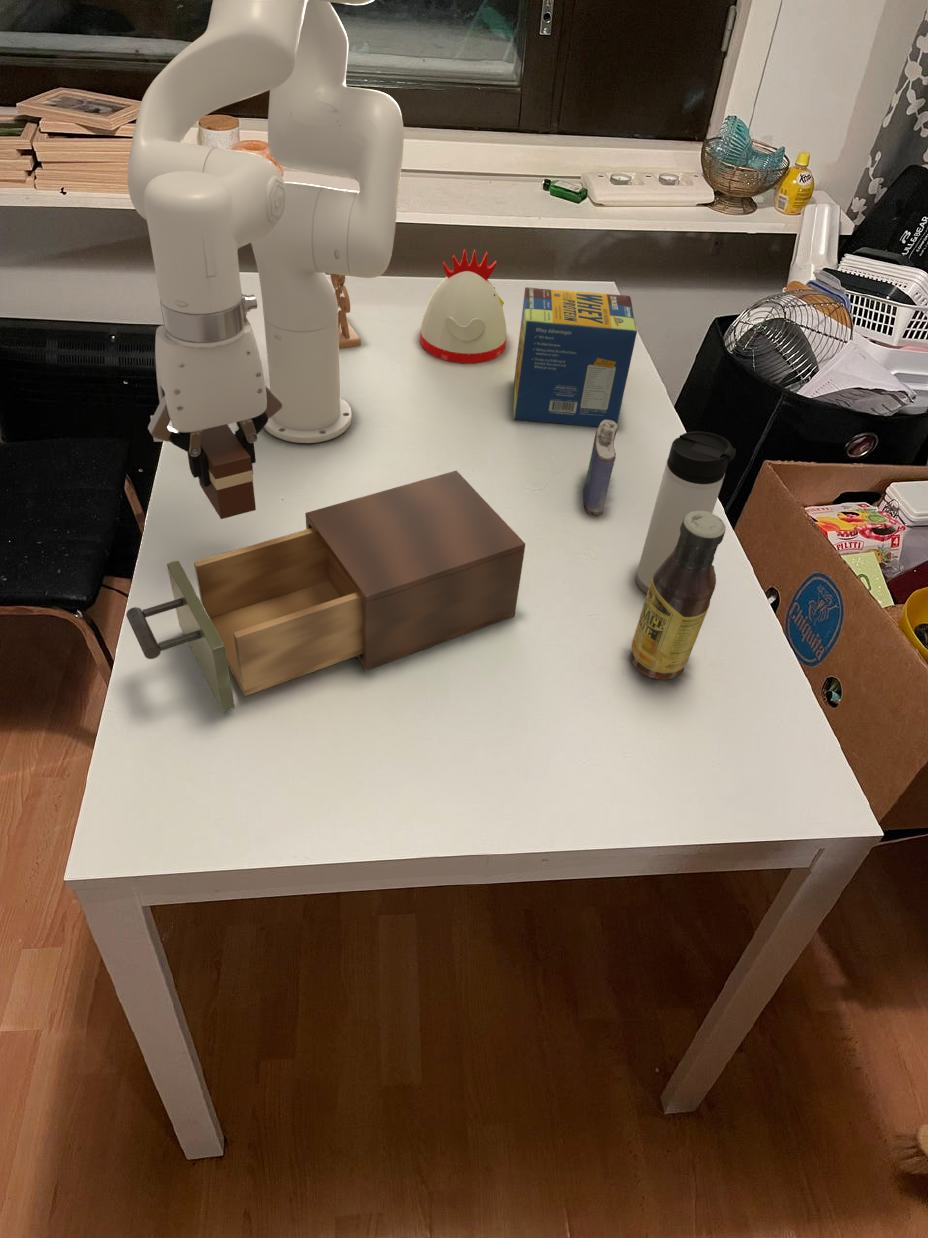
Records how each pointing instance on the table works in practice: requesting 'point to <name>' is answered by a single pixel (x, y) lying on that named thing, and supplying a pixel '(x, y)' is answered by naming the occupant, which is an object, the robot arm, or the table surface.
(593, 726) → the table surface
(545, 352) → the protein box
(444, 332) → the kitchen timer
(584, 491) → the flask
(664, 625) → the sauce bottle
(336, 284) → the wooden sculpture
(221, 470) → the snack box
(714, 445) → the travel mug
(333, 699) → the table surface
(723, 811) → the table surface
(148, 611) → the drawer
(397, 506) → the cabinet
